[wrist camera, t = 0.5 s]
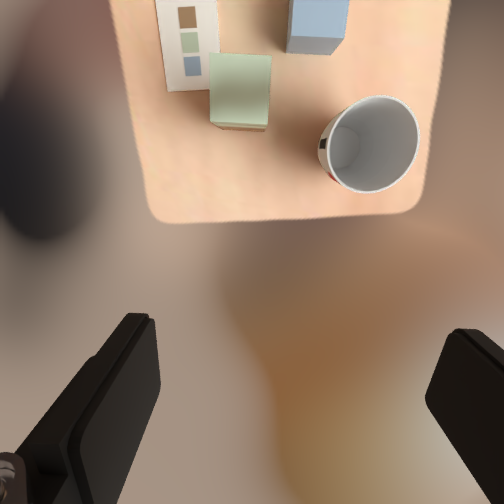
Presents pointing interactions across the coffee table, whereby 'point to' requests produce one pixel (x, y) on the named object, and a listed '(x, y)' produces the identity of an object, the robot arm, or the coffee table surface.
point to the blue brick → (316, 26)
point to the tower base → (239, 91)
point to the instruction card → (188, 42)
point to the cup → (370, 144)
